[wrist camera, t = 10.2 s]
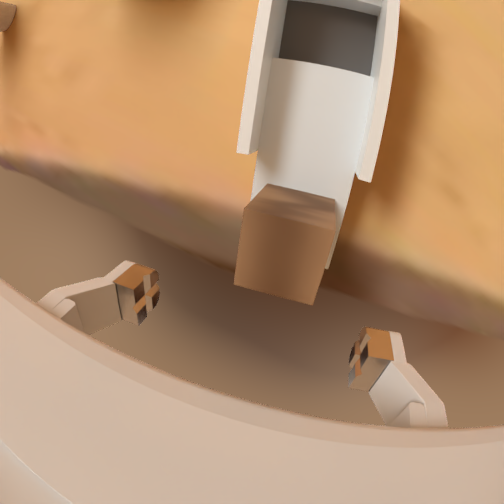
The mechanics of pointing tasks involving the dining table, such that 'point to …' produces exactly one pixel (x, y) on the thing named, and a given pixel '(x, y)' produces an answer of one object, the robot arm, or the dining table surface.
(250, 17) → the dining table surface
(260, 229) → the walnut block
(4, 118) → the dining table surface
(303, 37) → the channel
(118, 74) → the dining table surface
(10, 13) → the house plant
